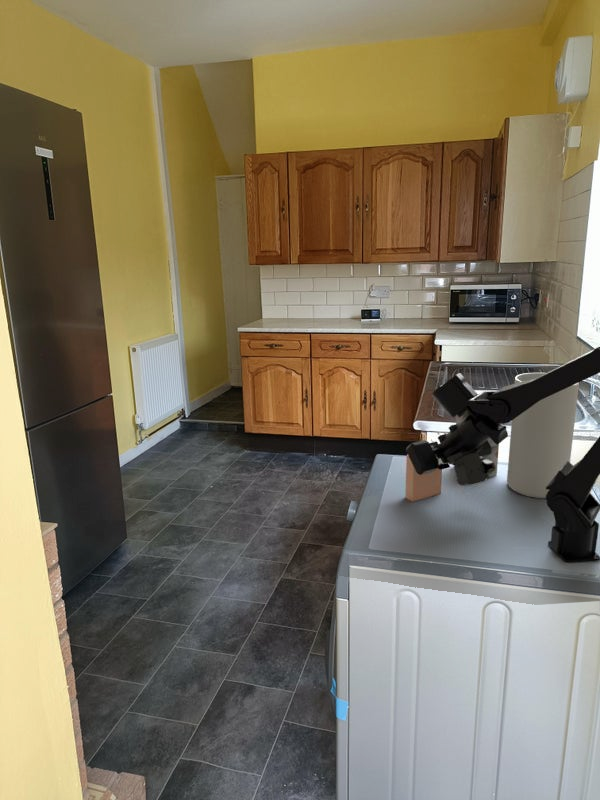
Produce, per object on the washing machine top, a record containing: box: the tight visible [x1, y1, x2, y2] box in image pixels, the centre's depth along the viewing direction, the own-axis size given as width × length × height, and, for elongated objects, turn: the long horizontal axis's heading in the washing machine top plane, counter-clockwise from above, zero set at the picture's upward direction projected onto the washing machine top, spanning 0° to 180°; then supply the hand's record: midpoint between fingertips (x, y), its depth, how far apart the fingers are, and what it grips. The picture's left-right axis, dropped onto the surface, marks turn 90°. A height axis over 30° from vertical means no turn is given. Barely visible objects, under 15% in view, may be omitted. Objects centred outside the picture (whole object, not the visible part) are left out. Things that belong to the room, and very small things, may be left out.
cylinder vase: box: [506, 372, 580, 499], centre depth 125 cm, size 12×12×25 cm
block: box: [404, 454, 443, 502], centre depth 125 cm, size 3×8×10 cm, turn 119°
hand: (429, 467), depth 122 cm, fingers closed
